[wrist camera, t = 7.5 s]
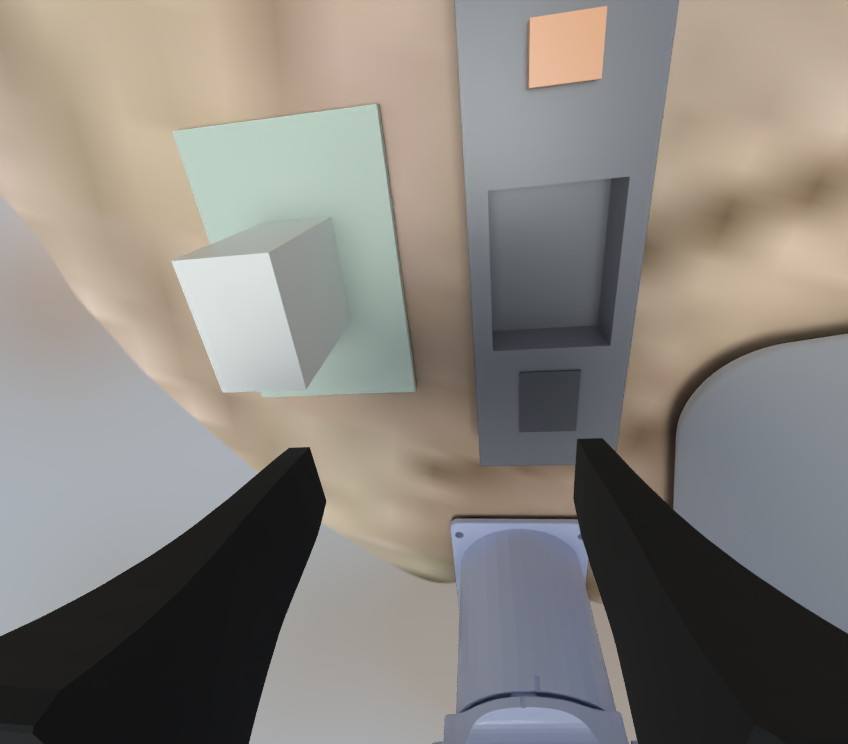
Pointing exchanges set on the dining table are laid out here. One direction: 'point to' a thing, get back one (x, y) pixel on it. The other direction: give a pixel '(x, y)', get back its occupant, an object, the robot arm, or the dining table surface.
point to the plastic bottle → (774, 468)
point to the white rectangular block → (268, 303)
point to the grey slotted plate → (557, 210)
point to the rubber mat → (311, 198)
